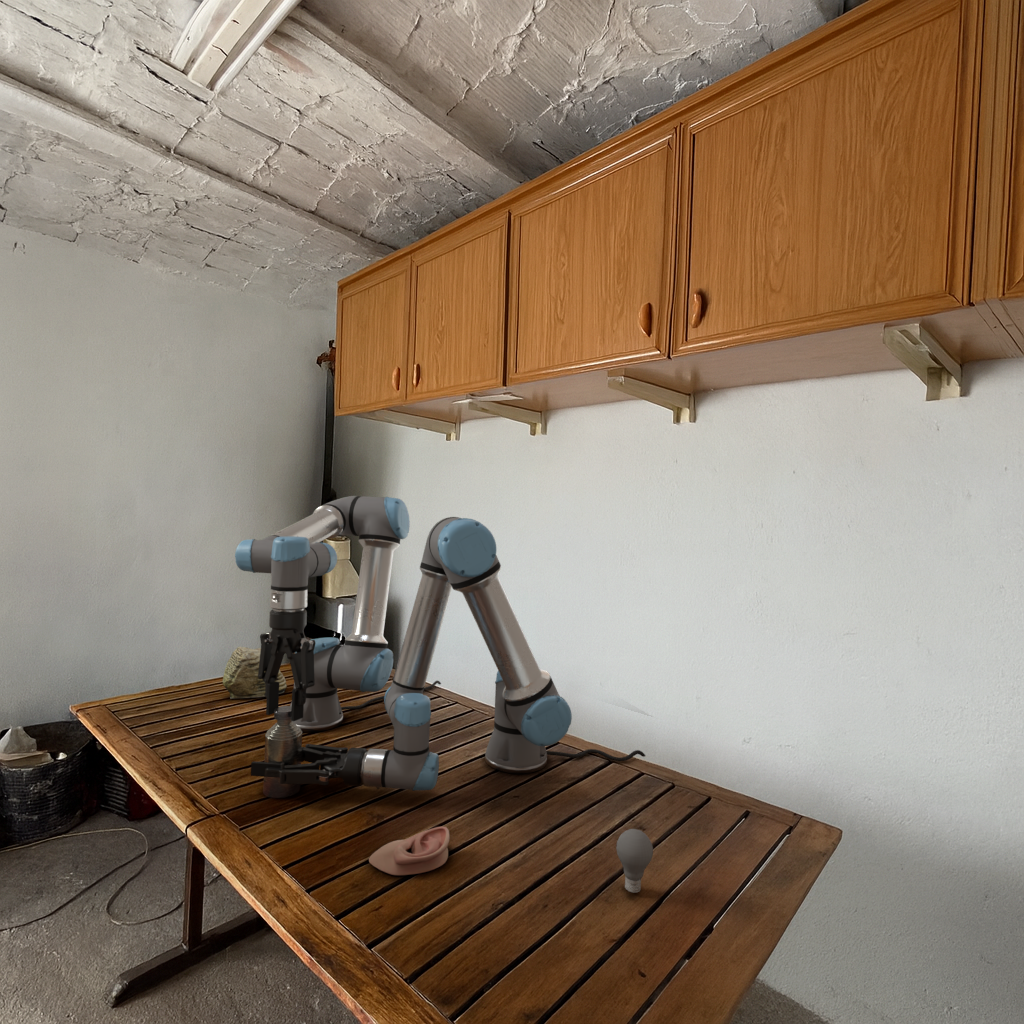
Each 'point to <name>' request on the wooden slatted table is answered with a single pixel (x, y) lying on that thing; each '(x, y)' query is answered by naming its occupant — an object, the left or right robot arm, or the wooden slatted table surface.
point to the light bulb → (634, 857)
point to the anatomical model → (413, 853)
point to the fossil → (247, 675)
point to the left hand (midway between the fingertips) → (284, 715)
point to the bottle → (282, 756)
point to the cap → (283, 713)
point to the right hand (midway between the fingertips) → (260, 760)
